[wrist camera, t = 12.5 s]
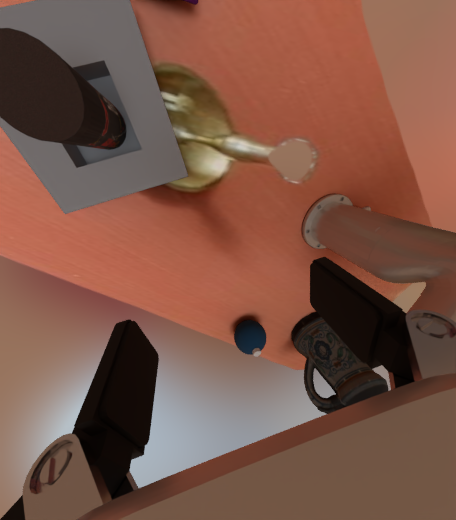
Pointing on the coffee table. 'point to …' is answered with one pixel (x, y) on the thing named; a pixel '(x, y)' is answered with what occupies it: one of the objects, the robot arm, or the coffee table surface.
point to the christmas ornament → (250, 337)
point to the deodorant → (53, 97)
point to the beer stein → (333, 366)
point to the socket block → (113, 89)
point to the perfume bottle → (192, 1)
